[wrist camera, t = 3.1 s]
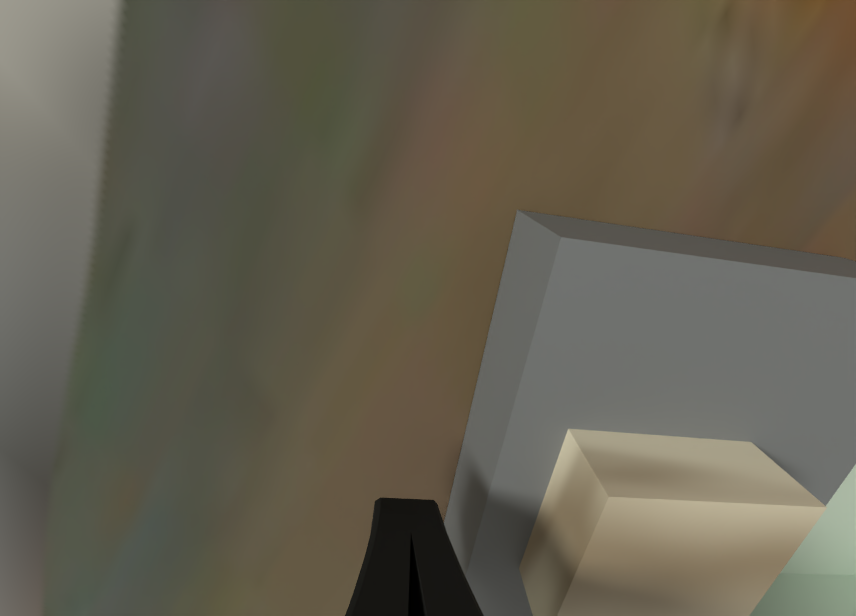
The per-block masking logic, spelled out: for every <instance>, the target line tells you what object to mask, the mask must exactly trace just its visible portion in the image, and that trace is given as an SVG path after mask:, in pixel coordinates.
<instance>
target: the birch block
mask: <svg viewBox="0 0 856 616" xmlns="http://www.w3.org/2000/svg"><path fill="white" fill-rule="evenodd" d="M826 508H827V507H826V506H825V505H824V504H823V503H821V502H820V501H819V500H818V499H817V498H816V497H814V496H813V495H812V494H811V493H810V492H809V491H807V490H806V489H805V488H804V487H803V486H802V485H800V484H799V483H798V482H797V481H796V480H795V479H794V478H792V477H791V476H790V475H789V474H788V473H787V472H785V471H784V470H783V469H782V468H781V467H780V466H778V465H777V464H776V463H775V462H774V461H773V460H771V459H770V458H769V457H768V456H767V455H766V454H765V453H763V452H762V451H761V450H760V449H759V448H758V447H756V446H755V445H754V444H753V443H752V442H745V441H731V440H718V439H704V438H690V437H676V436H662V435H648V434H635V433H621V432H607V431H593V430H579V429H568V431H567V434H566V436H565V439H564V442H563V445H562V448H561V451H560V453H559V456H558V459H557V462H556V465H555V468H554V470H553V473H552V476H551V479H550V482H549V485H548V487H547V490H546V493H545V496H544V499H543V502H542V504H541V507H540V510H539V513H538V516H537V519H536V521H535V524H534V527H533V530H532V533H531V536H530V538H529V541H528V544H527V547H526V550H525V553H524V555H523V558H522V561H521V564H520V567H519V570H520V573H521V577H522V580H523V584H524V587H525V591H526V594H527V597H528V601H529V604H530V608H531V611H532V614H533V616H749V615H750V614H751V613H752V611H753V610H754V608H755V607H756V606H757V604H758V603H759V602H760V600H761V599H762V597H763V596H764V595H765V593H766V592H767V590H768V589H769V588H770V586H771V585H772V583H773V582H774V581H775V579H776V578H777V576H778V575H779V574H780V572H781V571H782V570H783V568H784V567H785V565H786V564H787V563H788V561H789V560H790V558H791V557H792V556H793V554H794V553H795V551H796V550H797V549H798V547H799V546H800V545H801V543H802V542H803V540H804V539H805V538H806V536H807V535H808V533H809V532H810V531H811V529H812V528H813V526H814V525H815V524H816V522H817V521H818V520H819V518H820V517H821V515H822V514H823V513H824V511H825V510H826Z"/></svg>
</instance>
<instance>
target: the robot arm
mask: <svg viewBox="0 0 856 616" xmlns="http://www.w3.org/2000/svg"><path fill="white" fill-rule="evenodd" d="M345 616H484V615H483V613H482V611H481V609H480V607H479V605H478V603H477V601H476V598H475V596H474V594H473V592H472V590H471V588H470V586H469V583H468V581H467V579H466V577H465V575H464V573H463V570H462V568H461V566H460V563H459V561H458V559H457V556H456V554H455V551H454V549H453V546H452V544H451V542H450V539H449V536H448V534H447V531H446V528H445V526H444V523H443V520H442V517H441V514H440V511H439V508H438V505H437V503H436V502H435V501H434V500H421V499H398V498H379V499H378V500H376V501H375V505H374V513H373V520H372V527H371V534H370V539H369V543H368V546H367V550H366V554H365V558H364V561H363V564H362V568H361V571H360V574H359V577H358V580H357V583H356V586H355V589H354V593H353V596H352V599H351V601H350V604H349V607H348V610H347V612H346V615H345Z"/></svg>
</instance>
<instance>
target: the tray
mask: <svg viewBox="0 0 856 616" xmlns="http://www.w3.org/2000/svg"><path fill="white" fill-rule="evenodd" d="M826 507H827V508H826V510H825V511H824V513H823V514H822V515H821V517H820V518H819V520H818V521H817V522H816V524H815V525H814V526H813V528H812V529H811V531H810V532H809V533H808V535H807V536H806V538H805V539H804V540H803V542H802V543H801V545H800V546H799V547H798V549H797V550H796V551H795V553H794V554H793V556H792V557H791V558H790V560H789V561H788V563H787V564H786V565H785V567H784V568H783V570H782V571H781V572H780V574H779V575H778V576H777V578H776V579H775V581H774V582H773V583H772V585H771V586H770V588H769V589H768V590H767V592H766V593H765V595H764V596H763V597H762V599H761V600H760V602H759V603H758V604H757V606H756V607H755V608H754V610H753V611H752V613H751V614H750V615H749V616H856V464H855V466H854V467H853V469H852V470H851V471H850V473H849V474H848V476H847V477H846V478H845V480H844V481H843V483H842V484H841V485H840V487H839V488H838V490H837V491H836V492H835V494H834V495H833V497H832V498H831V499H830V501H829V502H828V504H827V505H826Z"/></svg>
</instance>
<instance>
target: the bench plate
mask: <svg viewBox="0 0 856 616" xmlns="http://www.w3.org/2000/svg"><path fill="white" fill-rule="evenodd" d="M568 429H579V430H593V431H607V432H621V433H635V434H648V435H662V436H676V437H690V438H704V439H718V440H731V441H745V442H752V443H753V444H754V445H755V446H756V447H758V448H759V449H760V450H761V451H762V452H763V453H765V454H766V455H767V456H768V457H769V458H770V459H771V460H773V461H774V462H775V463H776V464H777V465H778V466H780V467H781V468H782V469H783V470H784V471H785V472H787V473H788V474H789V475H790V476H791V477H792V478H794V479H795V480H796V481H797V482H798V483H799V484H800V485H802V486H803V487H804V488H805V489H806V490H807V491H809V492H810V493H811V494H812V495H813V496H814V497H816V498H817V499H818V500H819V501H820V502H821V503H823V504H824V505H825V506H826V505H827V504H828V502H829V501H830V499H831V498H832V497H833V495H834V494H835V492H836V491H837V490H838V488H839V487H840V485H841V484H842V483H843V481H844V480H845V478H846V477H847V476H848V474H849V473H850V471H851V470H852V469H853V467H854V466H855V464H856V261H853V260H849V259H846V258H841V257H834V256H828V255H821V254H814V253H807V252H800V251H793V250H787V249H780V248H773V247H766V246H759V245H753V244H746V243H739V242H732V241H725V240H718V239H712V238H705V237H698V236H691V235H684V234H678V233H671V232H664V231H657V230H650V229H644V228H637V227H630V226H623V225H616V224H609V223H603V222H596V221H589V220H582V219H575V218H569V217H562V216H555V215H548V214H541V213H534V212H528V211H521V210H517V214H516V218H515V222H514V226H513V231H512V235H511V239H510V243H509V248H508V252H507V256H506V261H505V265H504V269H503V273H502V278H501V282H500V286H499V290H498V295H497V299H496V303H495V307H494V312H493V316H492V320H491V325H490V329H489V333H488V337H487V342H486V346H485V350H484V354H483V359H482V363H481V367H480V372H479V376H478V380H477V384H476V389H475V393H474V397H473V401H472V406H471V410H470V414H469V419H468V423H467V427H466V431H465V436H464V440H463V444H462V448H461V453H460V457H459V461H458V465H457V470H456V474H455V478H454V483H453V487H452V491H451V495H450V500H449V504H448V508H447V512H446V517H445V521H444V526H445V528H446V531H447V534H448V536H449V539H450V542H451V544H452V546H453V549H454V551H455V554H456V556H457V559H458V561H459V563H460V566H461V568H462V570H463V573H464V575H465V577H466V579H467V581H468V583H469V586H470V588H471V590H472V592H473V594H474V596H475V598H476V601H477V603H478V605H479V607H480V609H481V611H482V613H483V615H484V616H533V614H532V611H531V608H530V604H529V601H528V597H527V594H526V591H525V587H524V584H523V580H522V577H521V573H520V570H519V567H520V564H521V561H522V558H523V555H524V553H525V550H526V547H527V544H528V541H529V538H530V536H531V533H532V530H533V527H534V524H535V521H536V519H537V516H538V513H539V510H540V507H541V504H542V502H543V499H544V496H545V493H546V490H547V487H548V485H549V482H550V479H551V476H552V473H553V470H554V468H555V465H556V462H557V459H558V456H559V453H560V451H561V448H562V445H563V442H564V439H565V436H566V434H567V431H568Z"/></svg>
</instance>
